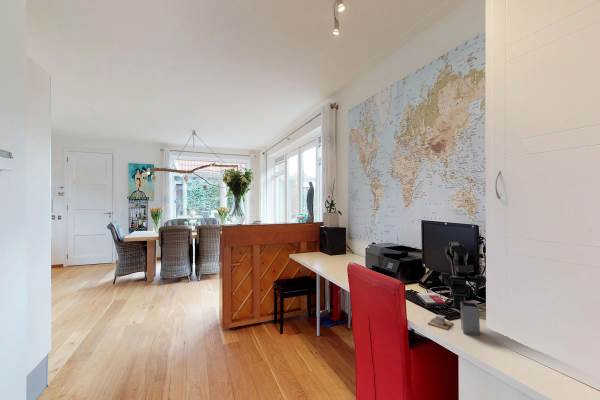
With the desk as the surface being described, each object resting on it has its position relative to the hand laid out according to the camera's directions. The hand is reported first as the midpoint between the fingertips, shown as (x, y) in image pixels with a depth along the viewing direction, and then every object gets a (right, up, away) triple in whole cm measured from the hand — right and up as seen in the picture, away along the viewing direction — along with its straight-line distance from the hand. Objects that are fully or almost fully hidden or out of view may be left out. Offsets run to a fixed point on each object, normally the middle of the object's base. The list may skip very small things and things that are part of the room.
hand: (464, 295), depth 124 cm
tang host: (-11, -14, 0) cm, 18 cm away
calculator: (-3, -15, +27) cm, 31 cm away
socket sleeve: (-2, -13, -8) cm, 15 cm away
